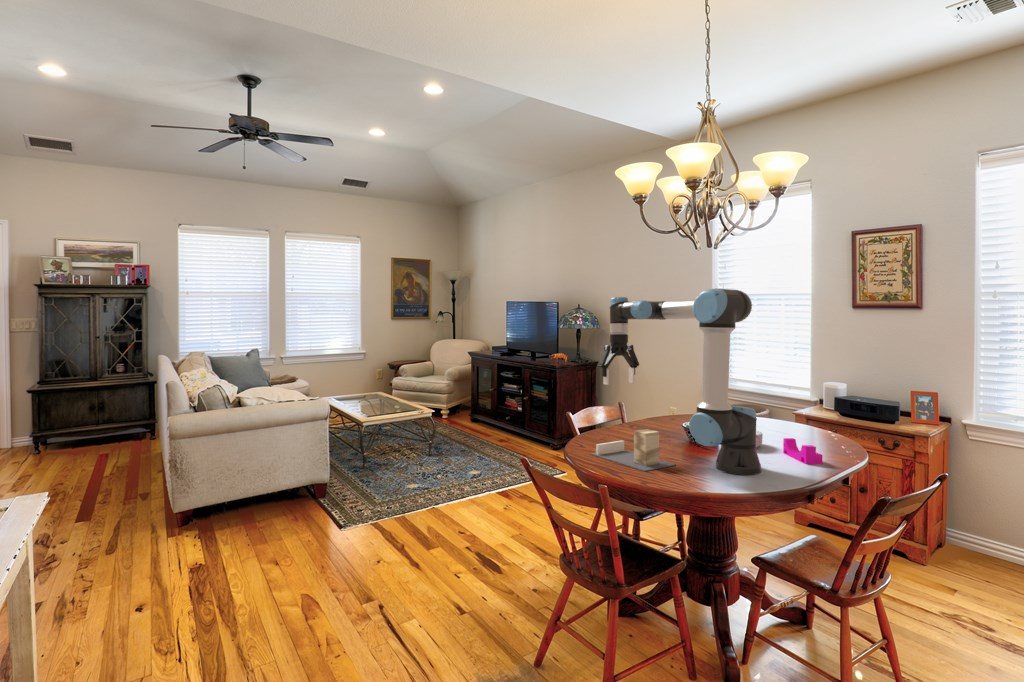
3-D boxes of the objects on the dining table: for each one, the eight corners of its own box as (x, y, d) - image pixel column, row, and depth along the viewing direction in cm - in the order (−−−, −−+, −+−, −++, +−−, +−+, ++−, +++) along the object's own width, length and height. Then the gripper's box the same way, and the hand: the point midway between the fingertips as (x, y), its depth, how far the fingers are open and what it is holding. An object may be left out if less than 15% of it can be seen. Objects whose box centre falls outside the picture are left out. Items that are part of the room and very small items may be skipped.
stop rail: (624, 450, 219) (624, 440, 218) (598, 454, 211) (598, 444, 211) (622, 450, 220) (622, 440, 219) (596, 454, 212) (596, 444, 212)
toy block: (822, 466, 195) (822, 446, 195) (805, 467, 195) (806, 446, 195) (798, 456, 210) (798, 438, 210) (783, 457, 210) (783, 438, 210)
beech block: (659, 463, 198) (659, 431, 197) (645, 466, 194) (645, 433, 194) (647, 460, 203) (647, 429, 202) (633, 462, 199) (634, 431, 199)
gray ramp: (675, 465, 196) (675, 464, 196) (644, 471, 188) (644, 470, 188) (619, 449, 222) (619, 448, 222) (590, 454, 214) (590, 453, 214)
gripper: (635, 333, 233) (635, 381, 234) (589, 333, 222) (589, 384, 222) (647, 333, 227) (647, 382, 227) (600, 334, 215) (600, 386, 215)
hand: (618, 383), depth 225 cm, fingers open, 13 cm apart
